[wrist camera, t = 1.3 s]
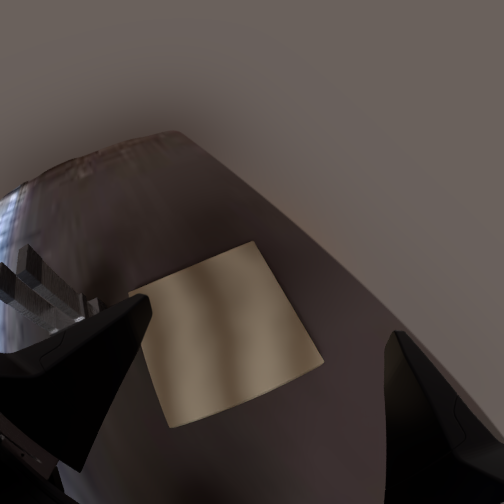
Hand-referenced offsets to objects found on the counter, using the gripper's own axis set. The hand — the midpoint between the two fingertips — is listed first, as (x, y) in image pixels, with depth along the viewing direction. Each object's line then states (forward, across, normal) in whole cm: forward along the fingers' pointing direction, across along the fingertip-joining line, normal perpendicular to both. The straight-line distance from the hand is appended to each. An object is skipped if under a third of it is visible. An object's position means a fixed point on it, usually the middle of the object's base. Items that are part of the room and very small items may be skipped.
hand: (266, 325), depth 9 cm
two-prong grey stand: (+7, +19, +13) cm, 24 cm away
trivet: (+10, +6, +12) cm, 16 cm away
